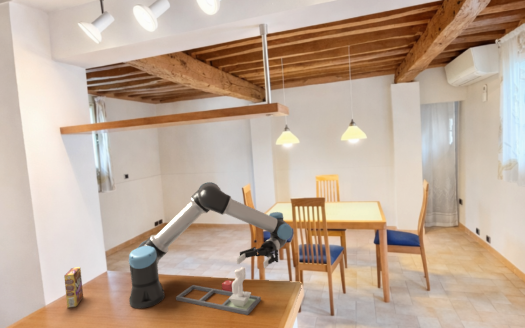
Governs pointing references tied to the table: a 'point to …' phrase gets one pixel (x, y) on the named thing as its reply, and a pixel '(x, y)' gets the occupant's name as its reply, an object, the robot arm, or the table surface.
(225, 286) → the red die
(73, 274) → the candy box
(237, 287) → the figurine
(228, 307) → the frame
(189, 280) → the table surface
